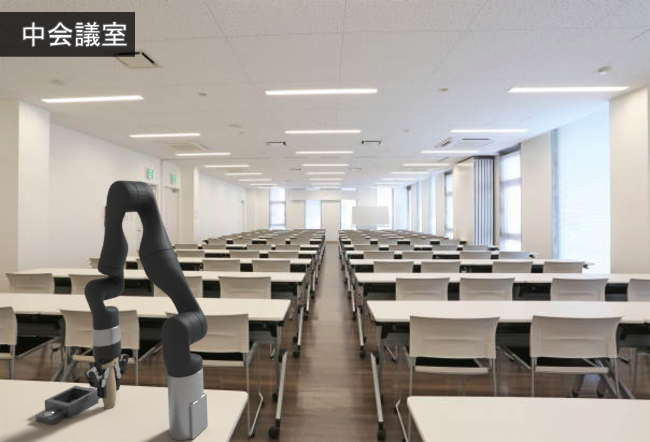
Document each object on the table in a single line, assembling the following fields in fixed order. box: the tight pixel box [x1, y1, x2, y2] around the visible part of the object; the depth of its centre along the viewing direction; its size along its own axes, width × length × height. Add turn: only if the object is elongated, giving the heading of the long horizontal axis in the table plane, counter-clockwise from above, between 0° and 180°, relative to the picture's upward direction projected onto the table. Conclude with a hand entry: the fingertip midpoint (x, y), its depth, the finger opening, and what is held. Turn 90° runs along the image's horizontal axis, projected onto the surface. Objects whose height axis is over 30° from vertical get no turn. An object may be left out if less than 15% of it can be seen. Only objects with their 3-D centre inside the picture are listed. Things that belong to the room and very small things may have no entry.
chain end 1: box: [35, 386, 75, 426], centre depth 107 cm, size 10×12×4 cm
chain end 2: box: [70, 385, 101, 418], centre depth 111 cm, size 10×12×4 cm
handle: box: [101, 357, 119, 410], centre depth 109 cm, size 5×6×15 cm
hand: (109, 393), depth 109 cm, fingers closed on handle, 4 cm apart
